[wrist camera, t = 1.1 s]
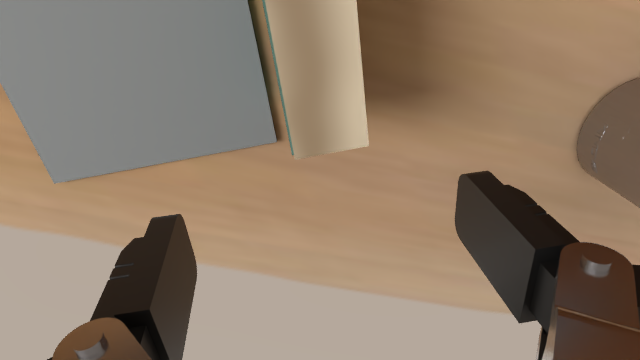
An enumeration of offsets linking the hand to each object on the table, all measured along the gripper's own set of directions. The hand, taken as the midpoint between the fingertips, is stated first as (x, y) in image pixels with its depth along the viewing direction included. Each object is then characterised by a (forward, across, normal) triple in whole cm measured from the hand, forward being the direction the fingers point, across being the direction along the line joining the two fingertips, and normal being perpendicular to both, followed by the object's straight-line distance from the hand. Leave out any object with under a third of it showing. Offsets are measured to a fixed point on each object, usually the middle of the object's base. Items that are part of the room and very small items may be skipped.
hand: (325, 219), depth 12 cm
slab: (+19, -1, -2) cm, 19 cm away
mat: (+19, +10, -1) cm, 21 cm away
